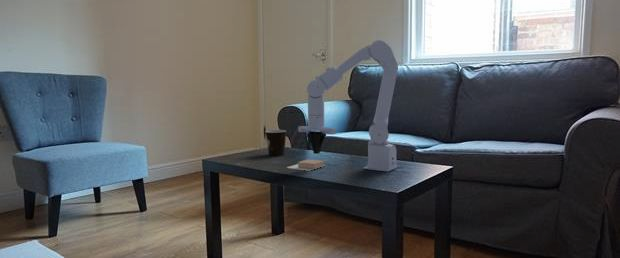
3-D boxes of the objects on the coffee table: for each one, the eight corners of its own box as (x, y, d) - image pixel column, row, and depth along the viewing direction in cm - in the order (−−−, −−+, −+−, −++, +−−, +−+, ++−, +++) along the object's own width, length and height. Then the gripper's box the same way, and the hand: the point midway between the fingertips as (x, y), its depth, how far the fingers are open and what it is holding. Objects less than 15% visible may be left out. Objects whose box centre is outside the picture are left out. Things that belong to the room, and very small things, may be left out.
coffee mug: (267, 153, 195) (266, 130, 194) (287, 152, 195) (286, 129, 194) (264, 158, 183) (263, 133, 182) (285, 157, 183) (285, 133, 182)
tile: (323, 161, 163) (307, 159, 167) (314, 164, 158) (298, 162, 162) (323, 166, 164) (307, 164, 168) (314, 169, 159) (298, 167, 163)
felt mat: (325, 166, 166) (325, 165, 166) (309, 171, 158) (309, 170, 157) (302, 163, 171) (302, 162, 171) (286, 168, 163) (286, 167, 163)
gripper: (292, 115, 160) (293, 153, 162) (327, 116, 152) (327, 156, 154) (304, 113, 166) (305, 150, 168) (338, 115, 158) (338, 153, 159)
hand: (316, 153), depth 161 cm, fingers closed
